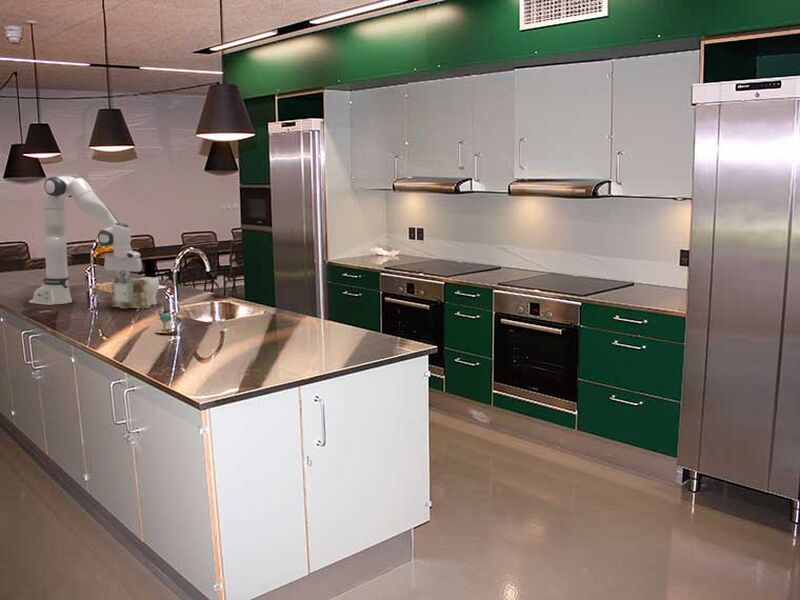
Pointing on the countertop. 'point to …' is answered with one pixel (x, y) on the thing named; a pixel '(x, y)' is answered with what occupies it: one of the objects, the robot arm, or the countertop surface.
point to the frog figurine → (166, 320)
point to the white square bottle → (124, 290)
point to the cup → (152, 289)
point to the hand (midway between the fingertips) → (123, 279)
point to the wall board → (139, 294)
